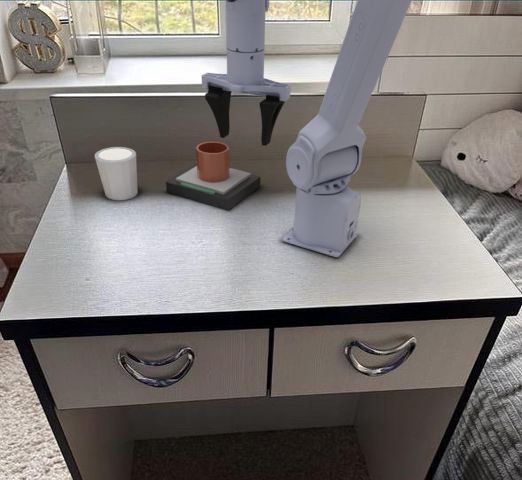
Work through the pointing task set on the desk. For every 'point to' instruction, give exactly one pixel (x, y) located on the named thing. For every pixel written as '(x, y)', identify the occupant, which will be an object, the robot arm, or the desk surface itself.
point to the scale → (214, 187)
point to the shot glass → (118, 172)
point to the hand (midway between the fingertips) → (245, 139)
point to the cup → (213, 161)
